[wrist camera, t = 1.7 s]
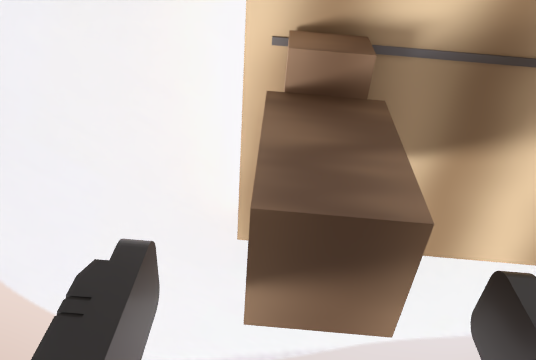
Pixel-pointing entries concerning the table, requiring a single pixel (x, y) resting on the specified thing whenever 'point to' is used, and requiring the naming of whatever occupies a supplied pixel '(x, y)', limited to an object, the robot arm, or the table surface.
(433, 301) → the table surface
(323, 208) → the marking gauge
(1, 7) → the table surface
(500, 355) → the robot arm
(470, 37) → the oak board
